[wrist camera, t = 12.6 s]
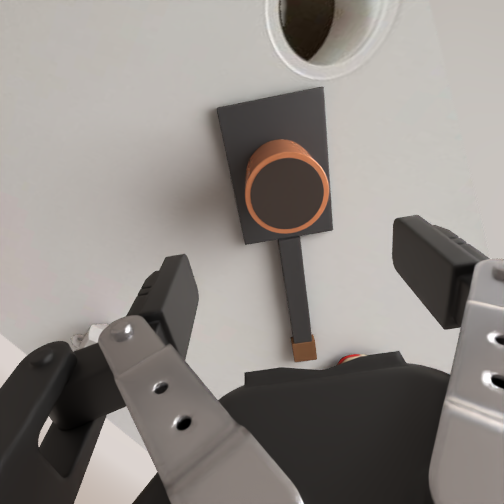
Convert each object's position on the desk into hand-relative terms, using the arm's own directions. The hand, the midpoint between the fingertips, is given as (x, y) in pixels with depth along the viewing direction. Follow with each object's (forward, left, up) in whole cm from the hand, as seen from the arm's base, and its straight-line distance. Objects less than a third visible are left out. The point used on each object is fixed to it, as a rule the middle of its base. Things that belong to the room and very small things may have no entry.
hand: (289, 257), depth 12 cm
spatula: (+10, +1, -19) cm, 21 cm away
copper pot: (+1, +1, -18) cm, 18 cm away
